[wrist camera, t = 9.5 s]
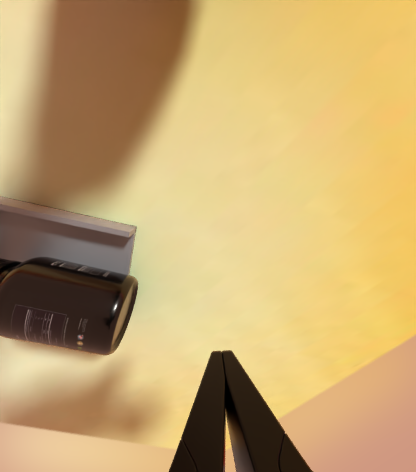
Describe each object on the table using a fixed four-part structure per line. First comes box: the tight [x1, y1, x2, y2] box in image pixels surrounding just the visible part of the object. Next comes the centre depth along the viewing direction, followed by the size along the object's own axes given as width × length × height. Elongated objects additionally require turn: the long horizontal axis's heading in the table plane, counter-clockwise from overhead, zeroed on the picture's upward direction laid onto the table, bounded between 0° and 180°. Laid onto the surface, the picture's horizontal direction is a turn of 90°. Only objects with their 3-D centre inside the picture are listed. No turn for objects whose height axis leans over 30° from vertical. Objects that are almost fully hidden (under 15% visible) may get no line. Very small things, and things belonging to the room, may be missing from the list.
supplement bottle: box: [0, 257, 138, 355], centre depth 18 cm, size 7×7×12 cm
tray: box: [0, 197, 136, 275], centre depth 20 cm, size 14×10×2 cm
